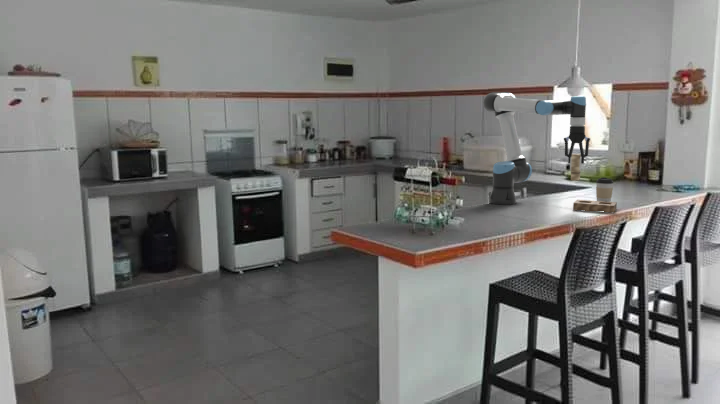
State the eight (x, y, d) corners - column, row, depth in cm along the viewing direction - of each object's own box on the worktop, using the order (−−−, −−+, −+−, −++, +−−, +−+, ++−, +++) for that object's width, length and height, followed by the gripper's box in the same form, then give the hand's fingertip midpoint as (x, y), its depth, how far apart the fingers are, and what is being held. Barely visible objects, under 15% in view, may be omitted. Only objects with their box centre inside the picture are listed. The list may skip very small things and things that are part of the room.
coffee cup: (613, 206, 321) (615, 179, 318) (596, 205, 322) (598, 179, 320) (610, 203, 329) (611, 177, 327) (593, 203, 331) (594, 177, 329)
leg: (570, 180, 312) (571, 154, 310) (572, 179, 316) (573, 153, 313) (578, 180, 310) (579, 154, 308) (580, 179, 314) (581, 153, 311)
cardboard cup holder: (573, 210, 310) (573, 202, 310) (576, 206, 321) (577, 199, 320) (613, 213, 300) (614, 205, 300) (616, 209, 311) (616, 202, 310)
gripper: (559, 126, 309) (557, 169, 313) (593, 125, 301) (591, 170, 305) (562, 125, 316) (560, 168, 319) (595, 125, 307) (593, 169, 311)
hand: (575, 169), depth 312 cm, fingers closed on leg, 4 cm apart
